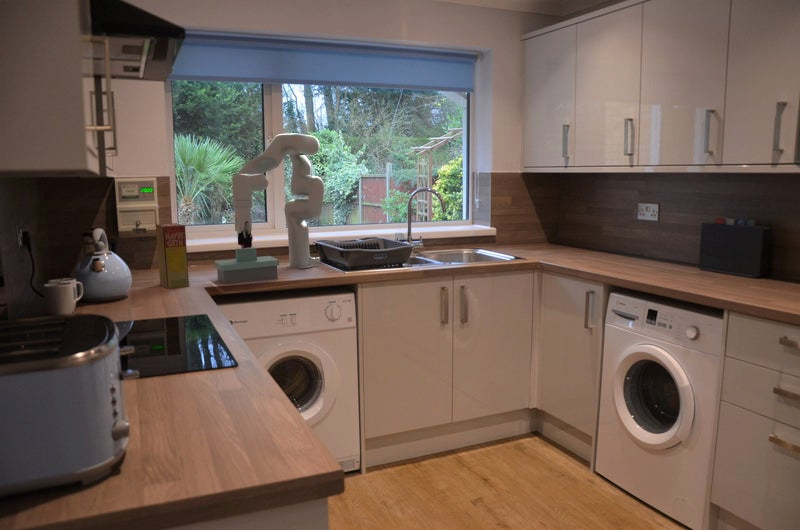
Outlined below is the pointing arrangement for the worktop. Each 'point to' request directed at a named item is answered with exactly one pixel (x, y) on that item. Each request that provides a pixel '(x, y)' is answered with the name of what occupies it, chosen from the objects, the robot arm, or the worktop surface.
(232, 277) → the tub
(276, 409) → the worktop surface
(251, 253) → the lid
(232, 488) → the worktop surface
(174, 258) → the food packaging
